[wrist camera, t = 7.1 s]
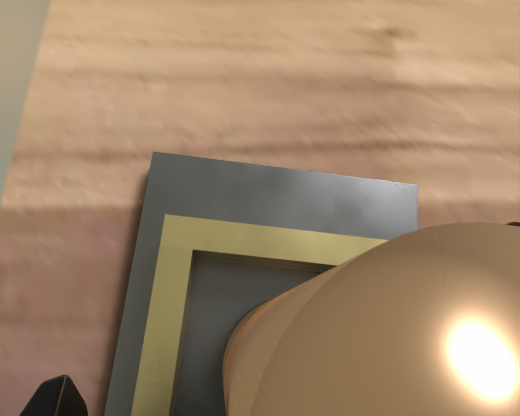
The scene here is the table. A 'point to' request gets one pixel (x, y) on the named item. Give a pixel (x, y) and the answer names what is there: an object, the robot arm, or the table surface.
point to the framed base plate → (230, 266)
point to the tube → (389, 333)
